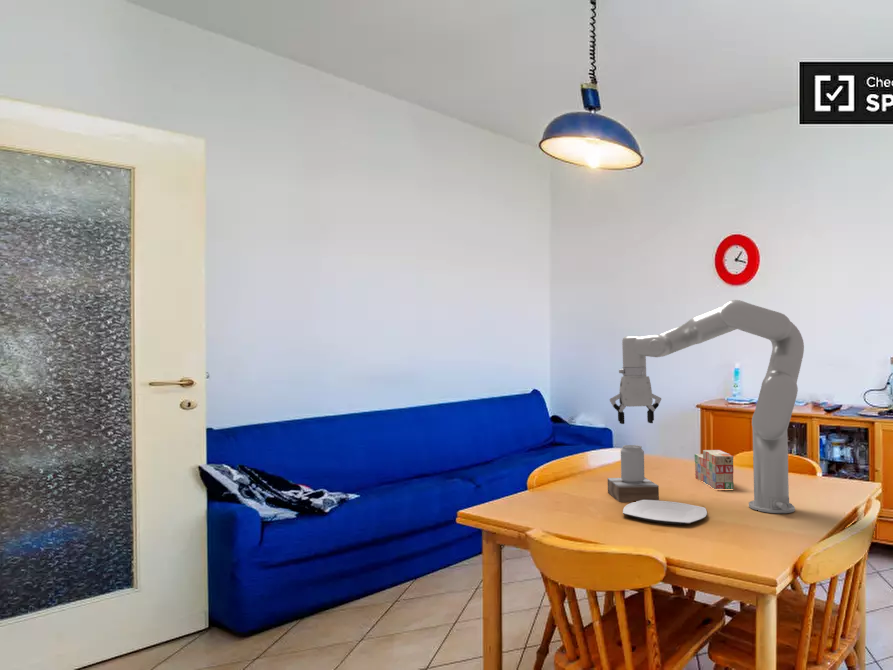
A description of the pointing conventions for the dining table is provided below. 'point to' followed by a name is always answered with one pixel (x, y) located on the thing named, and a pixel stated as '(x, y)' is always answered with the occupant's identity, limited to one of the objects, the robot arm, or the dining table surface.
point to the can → (632, 464)
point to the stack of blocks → (715, 469)
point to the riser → (632, 490)
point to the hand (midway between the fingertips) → (636, 423)
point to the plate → (665, 511)
